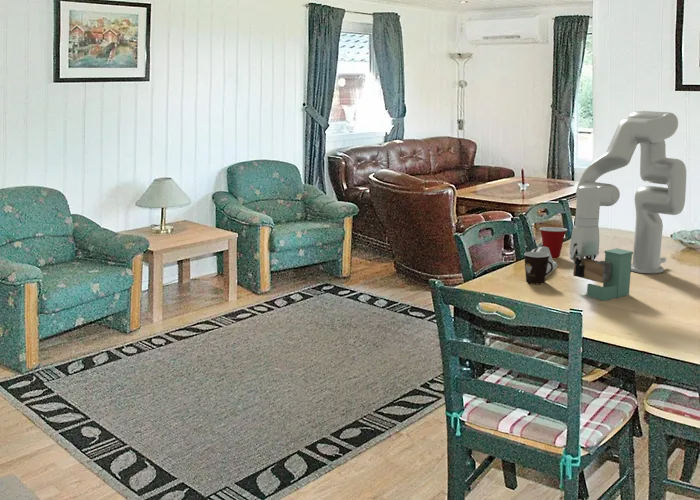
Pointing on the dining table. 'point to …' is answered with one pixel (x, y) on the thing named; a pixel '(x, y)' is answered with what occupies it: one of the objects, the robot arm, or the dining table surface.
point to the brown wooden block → (596, 270)
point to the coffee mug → (536, 267)
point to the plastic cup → (553, 239)
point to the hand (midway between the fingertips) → (583, 275)
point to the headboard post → (614, 276)
